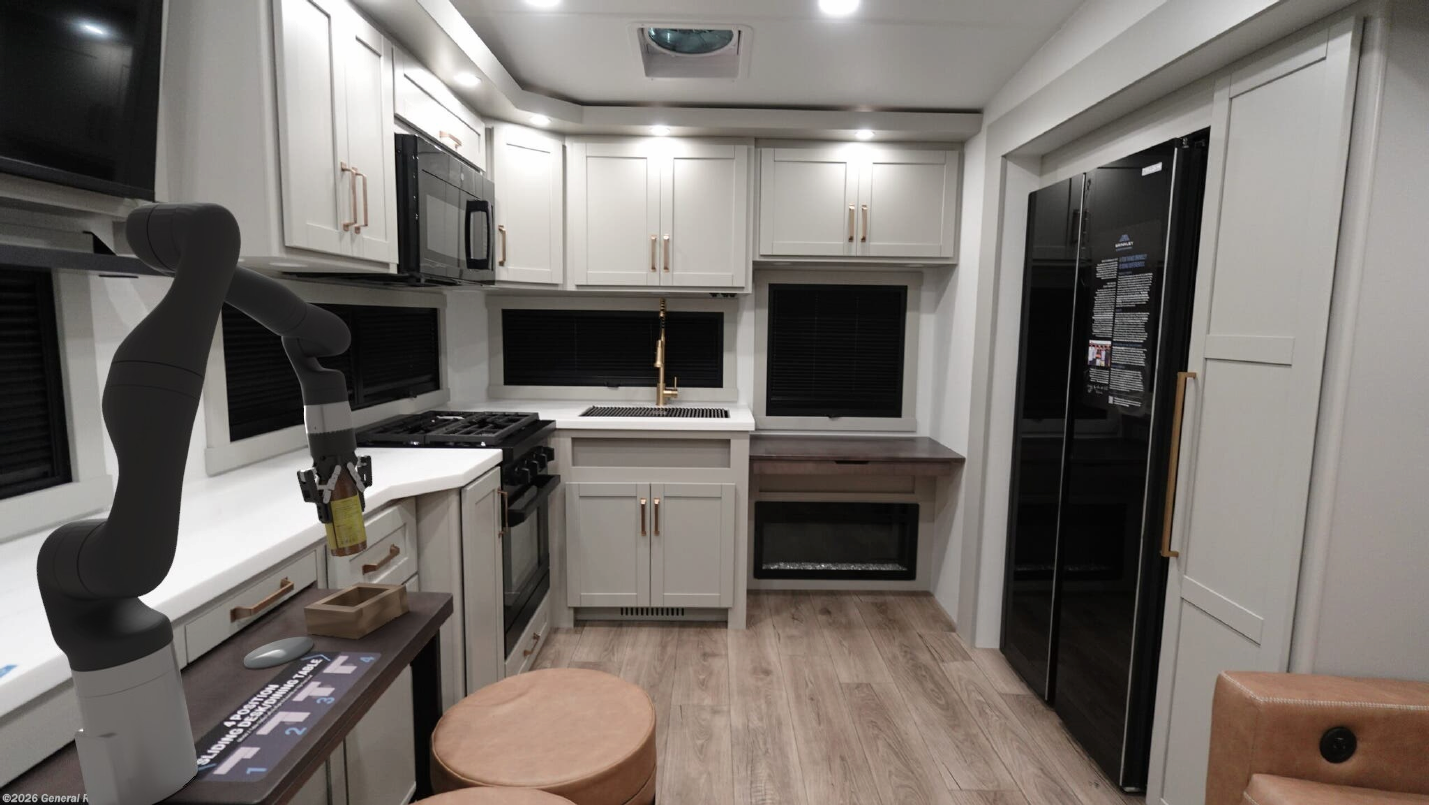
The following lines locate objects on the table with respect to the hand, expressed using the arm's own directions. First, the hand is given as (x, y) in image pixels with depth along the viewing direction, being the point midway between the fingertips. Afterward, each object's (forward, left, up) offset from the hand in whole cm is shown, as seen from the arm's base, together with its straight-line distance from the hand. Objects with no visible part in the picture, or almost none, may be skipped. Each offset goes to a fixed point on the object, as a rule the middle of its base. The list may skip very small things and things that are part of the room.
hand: (343, 517), depth 123 cm
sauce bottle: (0, 0, -7) cm, 7 cm away
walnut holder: (0, 0, -20) cm, 20 cm away
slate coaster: (-13, +4, -20) cm, 24 cm away
